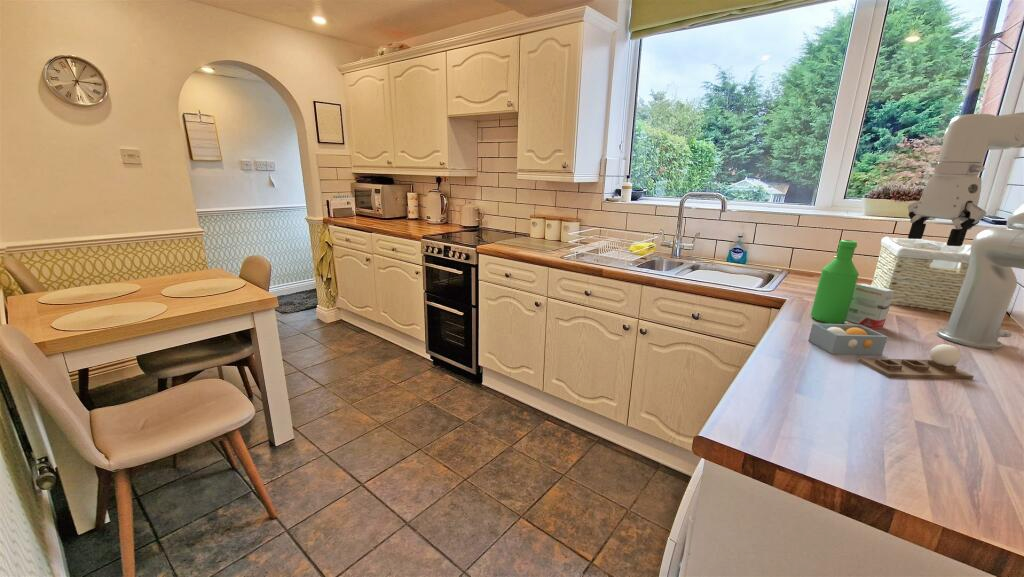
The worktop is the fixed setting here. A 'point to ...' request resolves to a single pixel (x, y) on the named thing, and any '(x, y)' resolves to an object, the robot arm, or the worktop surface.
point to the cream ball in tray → (837, 330)
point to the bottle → (836, 286)
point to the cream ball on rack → (945, 355)
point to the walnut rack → (914, 368)
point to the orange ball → (855, 331)
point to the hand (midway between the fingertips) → (933, 242)
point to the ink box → (869, 305)
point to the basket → (922, 272)
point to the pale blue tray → (847, 340)
